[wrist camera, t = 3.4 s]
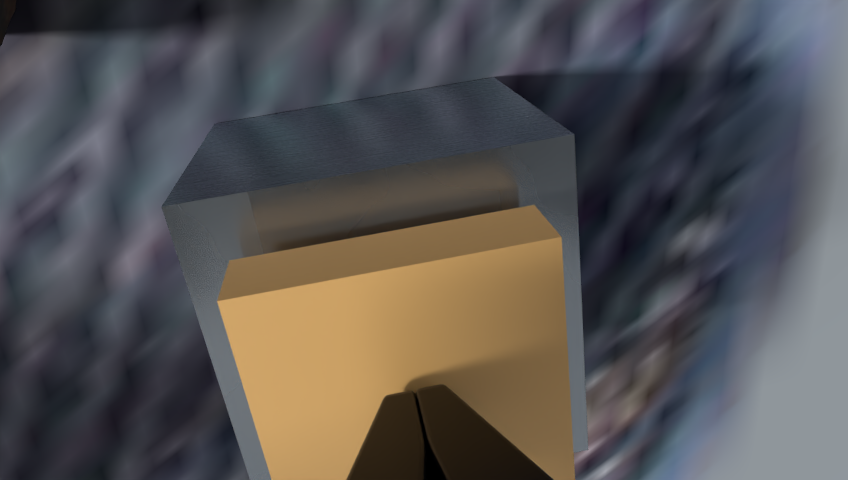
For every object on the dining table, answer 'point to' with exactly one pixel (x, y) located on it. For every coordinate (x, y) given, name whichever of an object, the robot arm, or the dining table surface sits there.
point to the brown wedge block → (6, 16)
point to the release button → (404, 337)
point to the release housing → (369, 198)
